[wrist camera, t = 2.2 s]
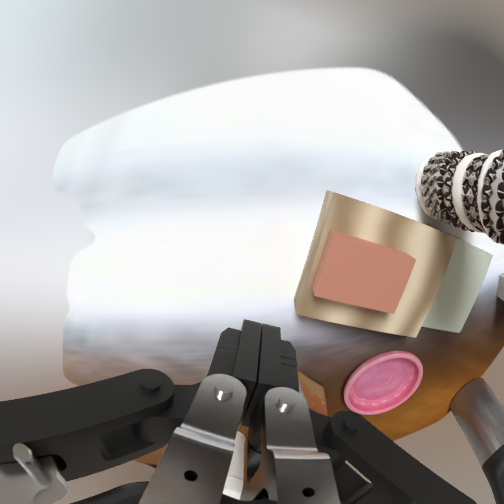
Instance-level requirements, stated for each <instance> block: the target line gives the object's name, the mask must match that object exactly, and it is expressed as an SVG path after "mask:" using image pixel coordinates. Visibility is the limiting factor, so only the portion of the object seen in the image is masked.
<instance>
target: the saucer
mask: <svg viewBox="0 0 504 504" xmlns="http://www.w3.org/2000/svg"><path fill="white" fill-rule="evenodd" d="M422 375H423V367H422V364H421V362H420V360H419V359H418V358H417V357H416V356H415V355H414V354H412V353H410V352H406V351H388V352H383V353H379V354H377V355H374V356H372V357H370V358H369V359H367V360H366V361H364V362H363V363H362V364H361V365H360V366H359V367H358V368H357V369H356V370H355V371H354V372H353V373H352V375H351V376H350V377H349V379H348V381H347V382H346V385H345V387H344V401H345V404H346V405H347V407H348V408H349V409H350V410H352V411H353V412H355V413H359V414H364V415H373V414H380V413H383V412H386V411H389V410H391V409H393V408H395V407H397V406H399V405H400V404H402V403H403V402H404V401H406V400H407V399H408V398H409V397H410V396H411V395H412V394H413V393H414V392H415V390H416V389H417V388H418V386H419V384H420V382H421V379H422Z"/></svg>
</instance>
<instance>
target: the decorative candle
mask: <svg viewBox="0 0 504 504" xmlns="http://www.w3.org/2000/svg"><path fill="white" fill-rule="evenodd" d="M415 190H416V194H417V197H418V201H419V204H420V205H421V207H422V208H423V210H424V211H425V213H426V214H428V215H429V216H431V217H432V218H434V219H436V220H439V221H440V222H442V221H443V220H445V223H446V224H447V225H448V224H449V223H450V222H451V221H452V223H453V225H454V226H455V227H457V228H458V227H459V226H460V227H461V228H462V230H464V231H466V230H468V229H469V231H471V232H475V231H476V232H482V233H486V234H487V235H488V236H489V237H490V238H491V239H492V240H493V241H494V242H496V243H501V244H504V150H499V151H497V152H494V153H491V154H490V155H486V154H483V153H476V152H475V151H470V152H469V153H468V152H466V151H462V152H461V153H459V152H456V151H452V152H444V153H441V152H440V153H435V154H432V155H429V156H427V157H426V158H425V159H424V161H423V162H422V163H421V164H420V166H419V169H418V172H417V174H416V188H415Z"/></svg>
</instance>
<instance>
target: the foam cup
mask: <svg viewBox="0 0 504 504" xmlns="http://www.w3.org/2000/svg"><path fill="white" fill-rule="evenodd" d="M245 440H246V438H245V436H244V435H243V434H242V433H240V432H238V431H237V434H236V438H235V442H234V444H235V448H234V453H233V456H232V460H231V464H230V468H229V471H228V475H227V479H226V482H225V486H224V489H223V493H222V494H225V495H227V496H230V497H233V498H235V499H238V500H240V496H241V492H242V489H243V474H244V443H245Z"/></svg>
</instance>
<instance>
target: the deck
mask: <svg viewBox="0 0 504 504" xmlns="http://www.w3.org/2000/svg"><path fill="white" fill-rule="evenodd" d="M329 230H334V231H337V232H340V233H344V234H347V235H351V236H354V237H357V238H361V239H364V240H367V241H370V242H374V243H377V244H380V245H383V246H387V247H390V248H393V249H396V250H399V251H402V252H405V253H407V254H409V255H410V256H412V257H413V258H415V259H416V262H415V264H414V267H413V270H412V272H411V275H410V277H409V280H408V283H407V285H406V287H405V290H404V292H403V295H402V297H401V299H400V302H399V304H398V306H397V308H396V311H395V313H394V314H392V313H388V312H383V311H378V310H374V309H369V308H365V307H360V306H356V305H351V304H347V303H342V302H338V301H334V300H329V299H325V298H321V297H317V296H314V293H313V290H312V287H311V285H312V283H313V280H314V277H315V274H316V271H317V268H318V265H319V262H320V258H321V255H322V252H323V249H324V246H325V243H326V239H327V236H328V233H329ZM456 241H457V238H456V237H453V236H451V235H449V234H446V233H444V232H442V231H439V230H437V229H434V228H432V227H430V226H427V225H425V224H422V223H420V222H417V221H415V220H412V219H409V218H407V217H404V216H401V215H399V214H396V213H393V212H391V211H388V210H385V209H382V208H379V207H377V206H374V205H371V204H368V203H365V202H362V201H359V200H356V199H353V198H350V197H347V196H344V195H341V194H337V193H334V192H331V191H326V195H325V199H324V202H323V206H322V209H321V213H320V216H319V220H318V223H317V227H316V230H315V234H314V237H313V240H312V244H311V247H310V250H309V253H308V257H307V260H306V263H305V266H304V269H303V272H302V276H301V279H300V282H299V285H298V288H297V291H296V294H295V297H294V302H295V309H296V315H301V316H305V317H310V318H314V319H319V320H324V321H328V322H333V323H338V324H343V325H348V326H353V327H358V328H363V329H369V330H374V331H379V332H385V333H391V334H397V335H402V336H409V337H415V338H416V336H417V334H418V332H419V330H420V328H421V326H422V324H423V322H424V320H425V318H426V316H427V314H428V312H429V310H430V308H431V306H432V303H433V301H434V299H435V297H436V294H437V292H438V290H439V287H440V285H441V282H442V280H443V277H444V275H445V272H446V270H447V267H448V264H449V261H450V259H451V256H452V253H453V250H454V247H455V244H456Z"/></svg>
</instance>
